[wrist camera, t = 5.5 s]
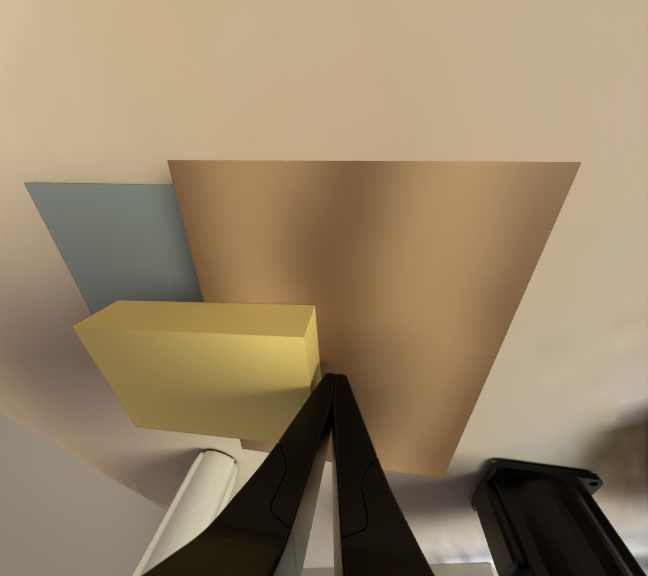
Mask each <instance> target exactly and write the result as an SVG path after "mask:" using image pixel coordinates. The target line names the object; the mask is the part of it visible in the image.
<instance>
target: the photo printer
mask: <svg viewBox="0 0 648 576" xmlns="http://www.w3.org/2000/svg"><path fill="white" fill-rule="evenodd" d="M237 470H238V465H237V464H235V463H234V459H232V458H231V457H229V456H227V455H225V454H223V453H220V452H217V451H206V452H205V453H203V452H201V453H200V454H199V455H198V457H197V458H196V459H195V461H194V462H193V464H192V465H191V467H190V469H189V471H188V473H187V475H186V476H185V478H184V480H183V482H182V484H181V486H180V487H179V489H178V491H177V493H176V495H175V497H174V498H173V500H172V502H171V504H170V506H169V507H168V509H167V511H166V513H165V515H164V517H163V518H162V520H161V522H160V524H159V526H158V527H157V529H156V531H155V533H154V535H153V536H152V538H151V540H150V542H149V544H148V545H147V547H146V549H145V551H144V553H143V555H142V556H141V558H140V560H139V562H138V564H137V565H136V567H135V569H134V571H133V573H132V574H131V576H142V575H143V574H144V573H146V572H147V571H149V570H150V569H151V568H153V567H154V566H156V565H157V564H159V563H160V562H161V561H163V560H164V559H166V558H167V557H169V556H170V555H171V554H173V553H174V552H176V551H177V550H179V549H180V548H181V547H183V546H184V545H186V544H187V543H189V542H190V541H191V540H193V539H194V538H195V537H197V536H198V535H199V534H200V533H201V532H203V531H204V530H205V529H206V528H207V527H208V526H209V525H210V524H211V523H212V522H213V521H214V519H215V518H216V517H217V516H218V515H219V514H220V513H221V512H222V510H223V509H224V508H225V507H226V506H227V503H228V501H229V498H230V495H231V492H232V489H233V486H234V482H235V479H236V475H237Z"/></svg>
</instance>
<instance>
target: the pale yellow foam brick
mask: <svg viewBox="0 0 648 576" xmlns="http://www.w3.org/2000/svg"><path fill="white" fill-rule="evenodd" d="M72 328H73V330H74V331H75V333H76V335H77V336H78V338H79V339H80V341H81V342H82V344H83V345H84V347H85V348H86V350H87V352H88V353H89V355H90V356H91V358H92V359H93V361H94V362H95V364H96V365H97V367H98V369H99V370H100V372H101V373H102V375H103V376H104V378H105V379H106V381H107V382H108V384H109V386H110V387H111V389H112V390H113V392H114V393H115V395H116V396H117V398H118V399H119V401H120V402H121V404H122V406H123V407H124V409H125V410H126V412H127V413H128V415H129V416H130V418H131V419H132V421H133V423H134V424H135V426H136V427H141V428H150V429H158V430H167V431H176V432H184V433H193V434H202V435H211V436H219V437H228V438H237V439H245V440H254V441H263V442H272V443H279V439H280V438H281V436H282V435H283V434H284V432H285V431H286V429H287V428H288V426H289V425H290V424H291V422H292V421H293V419H294V418H295V416H296V415H297V413H298V412H299V411H300V409H301V408H302V406H303V405H304V403H305V402H306V400H307V399H308V398H309V396H310V395H311V393H312V392H313V390H314V389H315V387H316V386H317V385H318V383H319V382H320V380H321V370H320V358H319V347H318V335H317V324H316V312H315V305H287V304H246V303H205V302H164V301H123V300H118V301H116V302H115V303H113V304H111V305H109V306H108V307H106V308H104V309H102V310H101V311H99V312H97V313H95V314H93V315H92V316H90V317H88V318H86V319H85V320H83V321H81V322H79V323H78V324H76V325H74V326H72Z"/></svg>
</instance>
